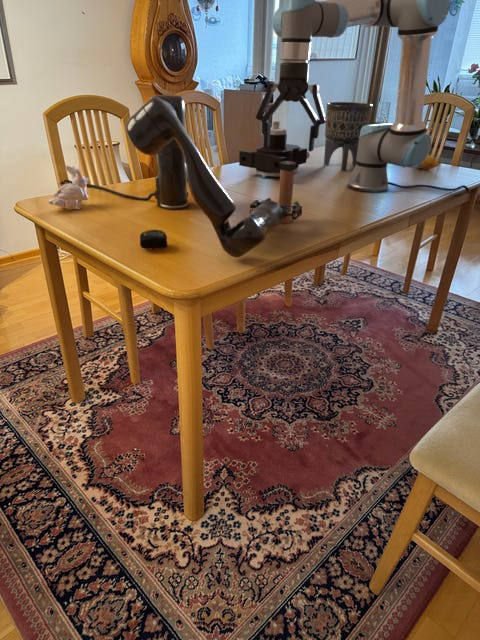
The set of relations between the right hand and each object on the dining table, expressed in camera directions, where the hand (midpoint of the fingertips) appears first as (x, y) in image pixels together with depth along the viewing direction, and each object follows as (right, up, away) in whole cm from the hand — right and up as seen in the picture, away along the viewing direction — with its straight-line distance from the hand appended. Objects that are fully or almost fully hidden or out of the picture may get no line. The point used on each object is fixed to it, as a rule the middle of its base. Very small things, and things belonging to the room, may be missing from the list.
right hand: (288, 148), depth 129 cm
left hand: (-1, -14, +6) cm, 15 cm away
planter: (+33, +22, +82) cm, 91 cm away
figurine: (-69, -12, +18) cm, 72 cm away
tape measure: (-36, -30, -11) cm, 48 cm away
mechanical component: (+4, +15, +68) cm, 69 cm away
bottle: (0, -18, +11) cm, 21 cm away
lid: (0, -4, +2) cm, 4 cm away
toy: (+72, +22, +83) cm, 113 cm away
